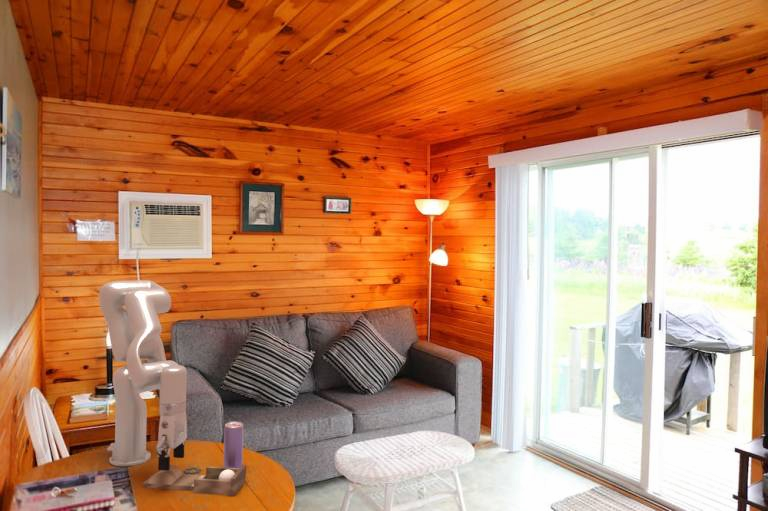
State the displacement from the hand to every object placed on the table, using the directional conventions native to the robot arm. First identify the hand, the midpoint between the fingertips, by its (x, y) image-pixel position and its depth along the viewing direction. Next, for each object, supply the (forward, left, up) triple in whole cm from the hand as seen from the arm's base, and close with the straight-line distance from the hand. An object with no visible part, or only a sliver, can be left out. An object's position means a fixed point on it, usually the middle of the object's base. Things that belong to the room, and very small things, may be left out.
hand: (171, 463), depth 172 cm
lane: (+7, +2, -10) cm, 13 cm away
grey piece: (0, +10, -6) cm, 12 cm away
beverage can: (+11, +16, -6) cm, 20 cm away
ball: (+15, +4, -4) cm, 16 cm away
